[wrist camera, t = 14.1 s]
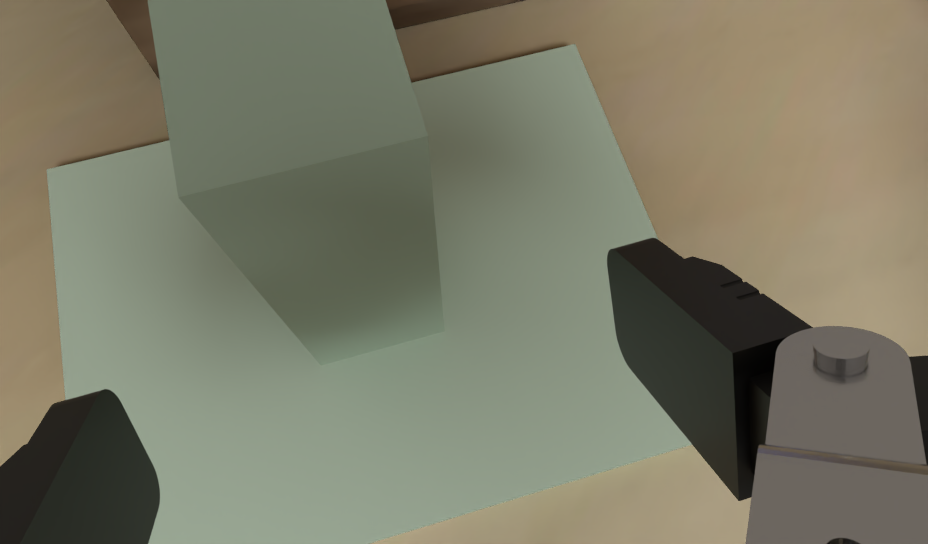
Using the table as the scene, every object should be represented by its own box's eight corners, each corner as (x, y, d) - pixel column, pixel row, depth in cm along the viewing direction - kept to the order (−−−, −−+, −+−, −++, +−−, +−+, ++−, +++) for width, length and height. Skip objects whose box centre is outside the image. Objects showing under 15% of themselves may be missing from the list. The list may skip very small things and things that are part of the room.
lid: (104, 624, 17) (-426, 764, 7) (64, 185, 22) (-295, -129, 11) (725, 434, 19) (1038, 319, 9) (570, 63, 23) (655, -305, 13)
